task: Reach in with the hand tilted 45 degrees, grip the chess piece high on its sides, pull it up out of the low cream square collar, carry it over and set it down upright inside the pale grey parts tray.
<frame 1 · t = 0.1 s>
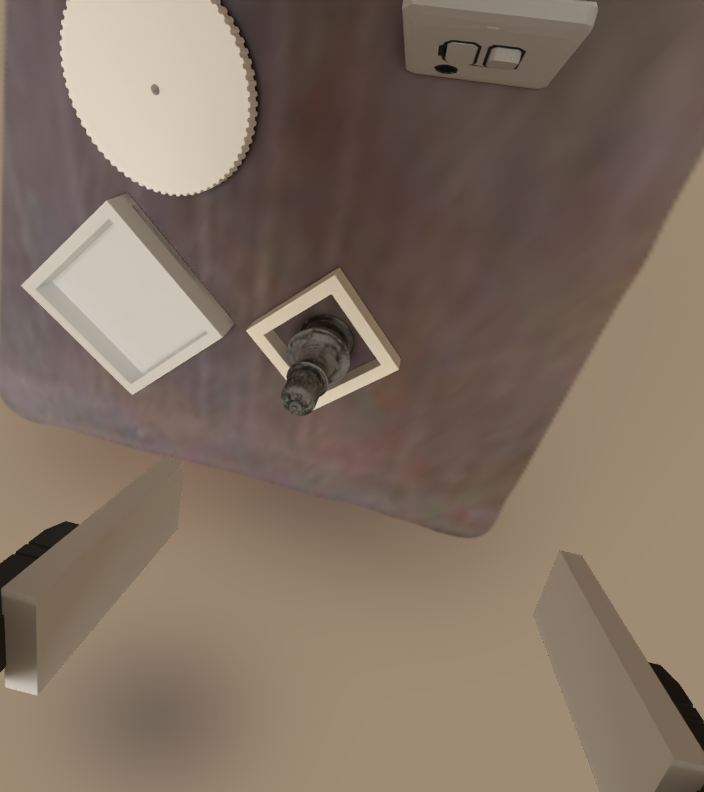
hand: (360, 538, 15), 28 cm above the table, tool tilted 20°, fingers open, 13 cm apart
parts tray: (138, 298, 44), on the table
electrical switch: (481, 29, 29), on the table
chess piece: (327, 339, 43), resting in socket collar
socket collar: (326, 340, 43), on the table
cream gear: (174, 89, 34), on the table
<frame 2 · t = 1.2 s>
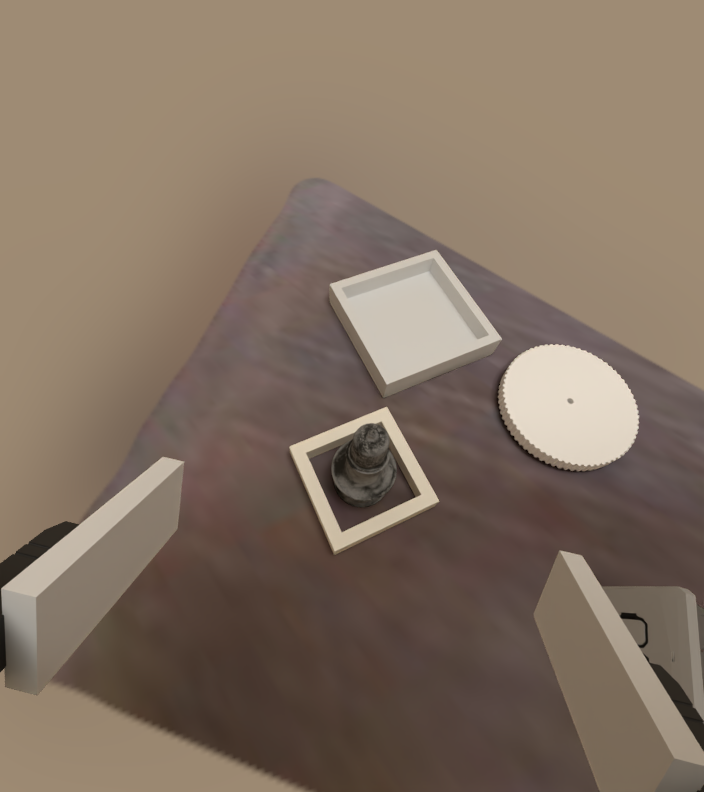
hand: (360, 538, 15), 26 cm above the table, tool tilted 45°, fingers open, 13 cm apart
parts tray: (409, 327, 52), on the table
electrical switch: (612, 649, 38), on the table
chess piece: (361, 480, 43), resting in socket collar
socket collar: (361, 479, 43), on the table
cream gear: (558, 412, 49), on the table
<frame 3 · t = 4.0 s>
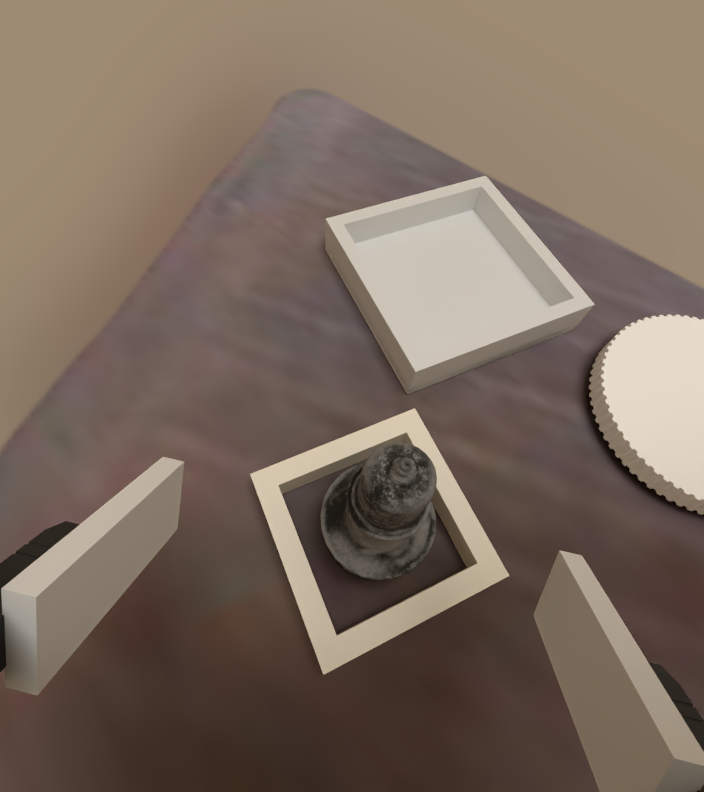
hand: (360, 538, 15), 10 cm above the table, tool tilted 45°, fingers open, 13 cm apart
parts tray: (445, 288, 34), on the table
chess piece: (371, 531, 26), resting in socket collar
socket collar: (371, 530, 26), on the table
cream gear: (680, 420, 31), on the table
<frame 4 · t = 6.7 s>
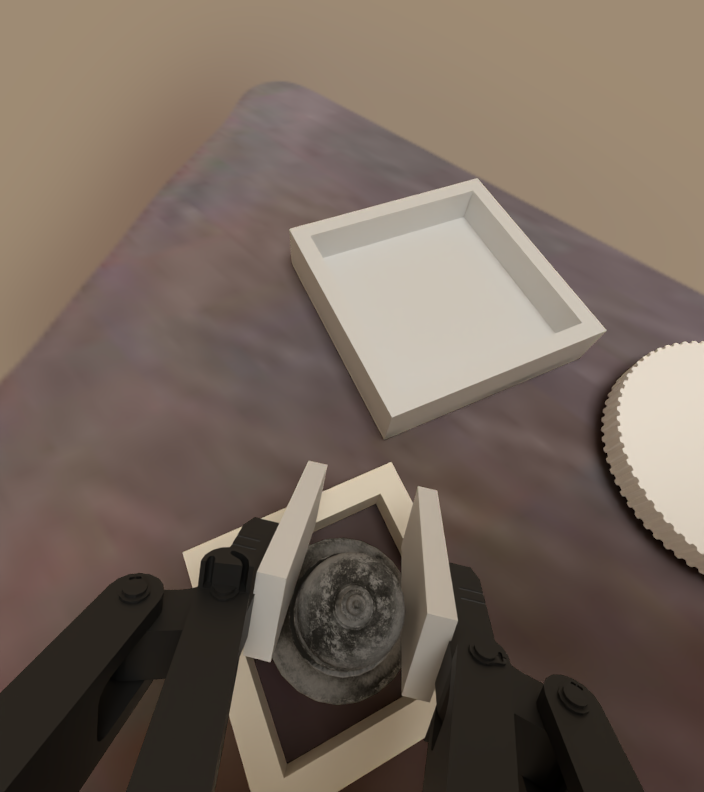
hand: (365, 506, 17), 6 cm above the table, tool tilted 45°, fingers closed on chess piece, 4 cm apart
parts tray: (430, 309, 30), on the table
chess piece: (336, 617, 21), resting in socket collar, touching gripper
socket collar: (337, 617, 21), on the table
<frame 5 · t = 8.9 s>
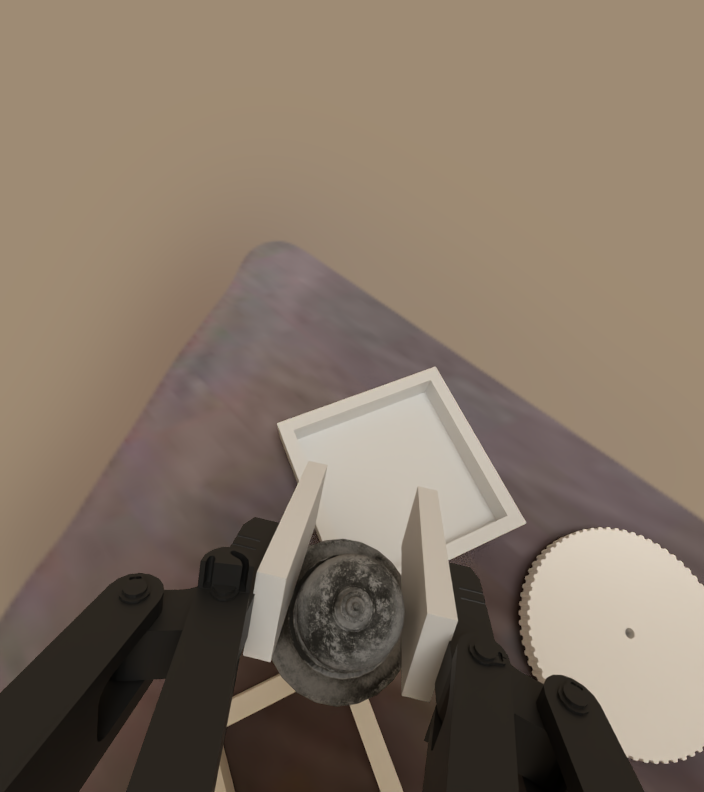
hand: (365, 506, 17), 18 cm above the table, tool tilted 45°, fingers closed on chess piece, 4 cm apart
parts tray: (391, 482, 36), on the table
chess piece: (336, 618, 21), point 12 cm above the table, touching gripper
socket collar: (300, 767, 28), on the table
cream gear: (606, 632, 33), on the table
when the fingers open (8 cm above the table, at t = 11.6 s): chess piece drops 1 cm, resting on parts tray.
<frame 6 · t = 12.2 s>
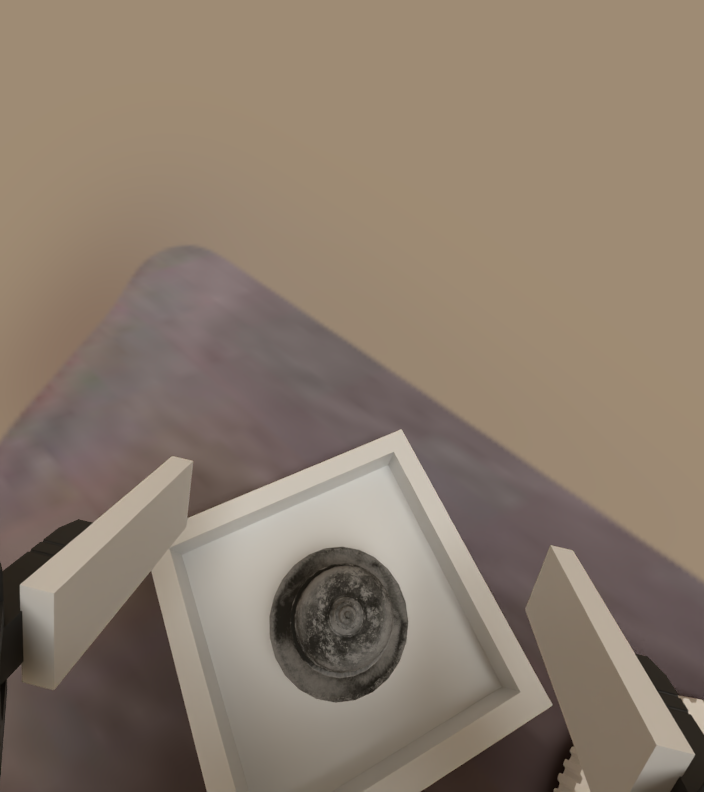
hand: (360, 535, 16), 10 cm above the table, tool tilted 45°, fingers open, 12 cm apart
parts tray: (335, 618, 23), on the table
chess piece: (337, 620, 22), point 1 cm above the table, touching parts tray
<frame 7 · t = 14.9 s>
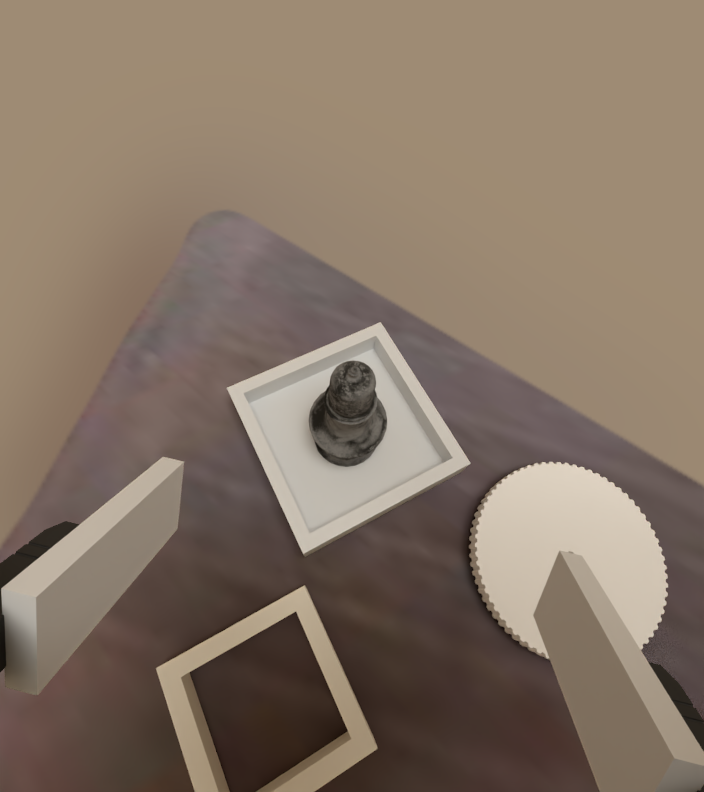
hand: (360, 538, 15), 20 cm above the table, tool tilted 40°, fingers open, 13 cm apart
parts tray: (344, 437, 37), on the table
chess piece: (346, 435, 37), point 1 cm above the table, touching parts tray
socket collar: (268, 700, 30), on the table
cream gear: (553, 558, 35), on the table
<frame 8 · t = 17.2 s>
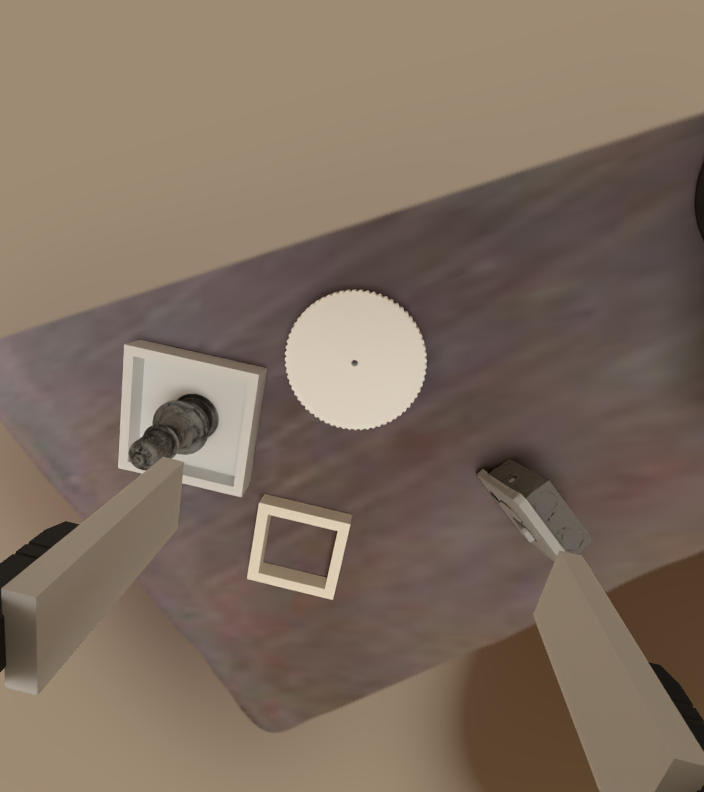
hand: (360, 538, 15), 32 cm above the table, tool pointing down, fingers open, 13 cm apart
parts tray: (197, 414, 50), on the table
electrical switch: (518, 487, 49), on the table
chess piece: (196, 416, 49), point 1 cm above the table, touching parts tray
socket collar: (300, 542, 53), on the table
cream gear: (357, 357, 47), on the table
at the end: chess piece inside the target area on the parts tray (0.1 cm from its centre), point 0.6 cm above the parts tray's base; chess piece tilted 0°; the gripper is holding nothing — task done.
